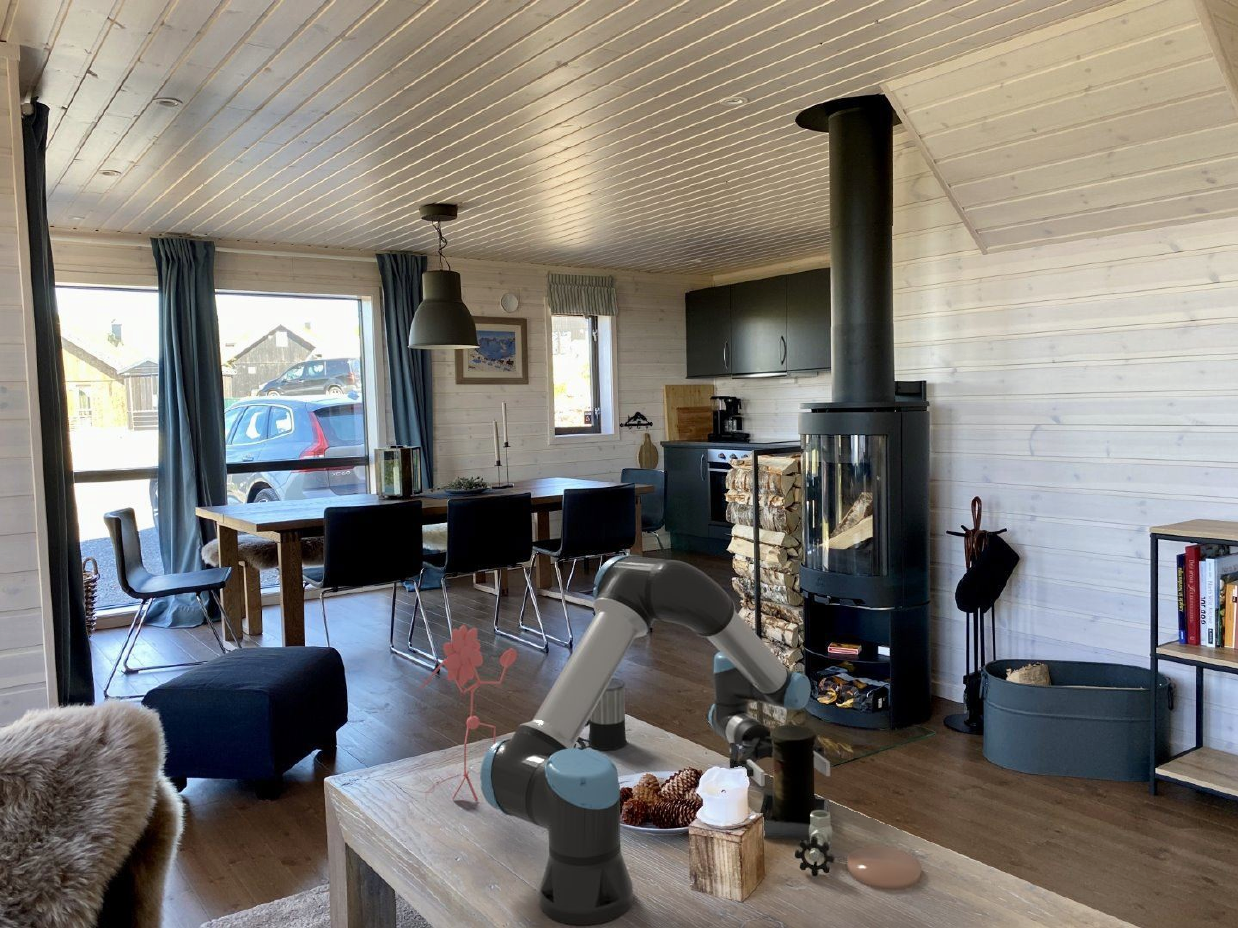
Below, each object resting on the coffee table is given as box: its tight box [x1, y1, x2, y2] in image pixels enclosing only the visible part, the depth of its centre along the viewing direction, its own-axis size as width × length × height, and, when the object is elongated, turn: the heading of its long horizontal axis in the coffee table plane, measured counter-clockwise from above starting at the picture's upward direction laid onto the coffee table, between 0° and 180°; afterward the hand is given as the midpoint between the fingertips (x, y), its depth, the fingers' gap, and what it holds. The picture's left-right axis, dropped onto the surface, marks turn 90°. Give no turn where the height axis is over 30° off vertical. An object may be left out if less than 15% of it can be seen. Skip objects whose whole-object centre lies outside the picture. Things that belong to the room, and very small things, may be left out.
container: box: [770, 724, 817, 823], centre depth 177 cm, size 9×9×18 cm
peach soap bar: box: [846, 845, 922, 890], centre depth 159 cm, size 12×12×2 cm
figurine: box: [418, 624, 518, 803], centre depth 199 cm, size 15×26×35 cm, turn 148°
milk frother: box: [574, 677, 628, 751], centre depth 221 cm, size 14×16×15 cm
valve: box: [794, 810, 836, 877], centre depth 164 cm, size 7×7×12 cm
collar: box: [759, 793, 829, 842], centre depth 177 cm, size 12×12×3 cm
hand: (795, 774), depth 177 cm, fingers open, 13 cm apart
